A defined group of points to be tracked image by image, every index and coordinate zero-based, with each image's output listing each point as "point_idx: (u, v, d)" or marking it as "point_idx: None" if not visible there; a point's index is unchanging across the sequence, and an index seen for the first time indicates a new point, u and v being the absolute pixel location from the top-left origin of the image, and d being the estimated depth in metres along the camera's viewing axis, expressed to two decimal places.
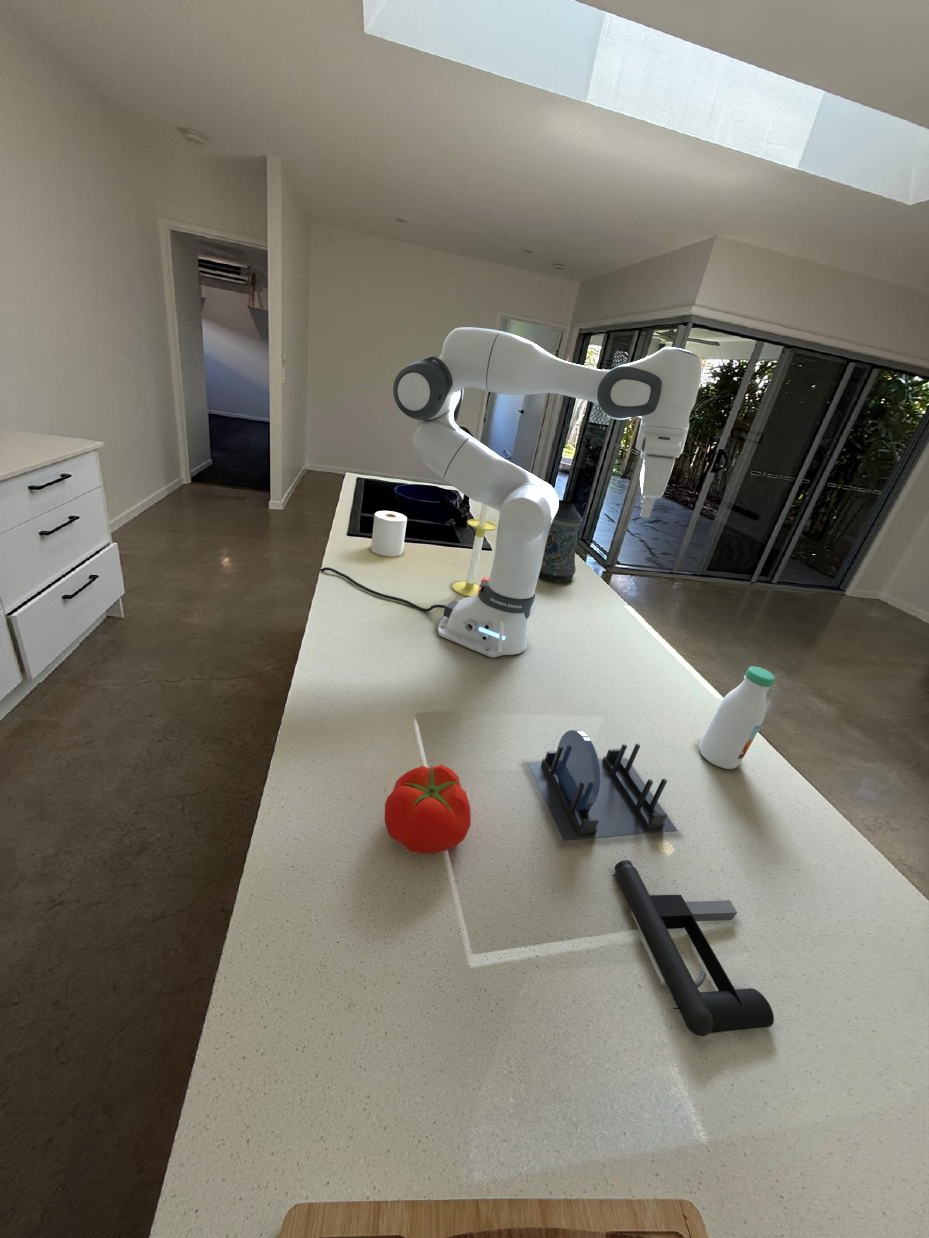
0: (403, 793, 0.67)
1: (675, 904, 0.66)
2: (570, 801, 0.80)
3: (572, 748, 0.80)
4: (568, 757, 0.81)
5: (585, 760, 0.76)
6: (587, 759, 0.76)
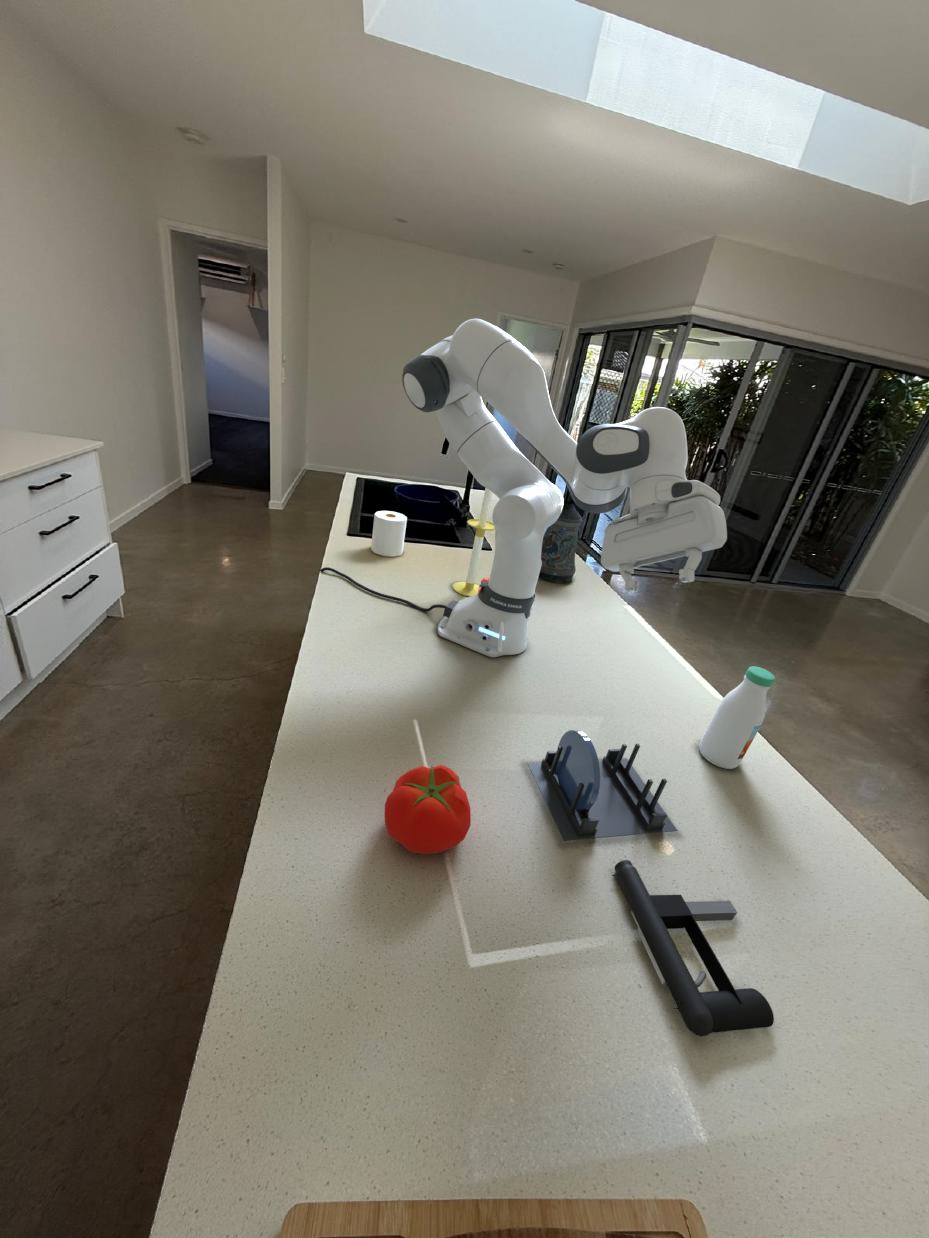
0: (403, 793, 0.67)
1: (675, 904, 0.66)
2: (570, 801, 0.80)
3: (572, 748, 0.80)
4: (568, 757, 0.81)
5: (585, 760, 0.76)
6: (587, 759, 0.76)
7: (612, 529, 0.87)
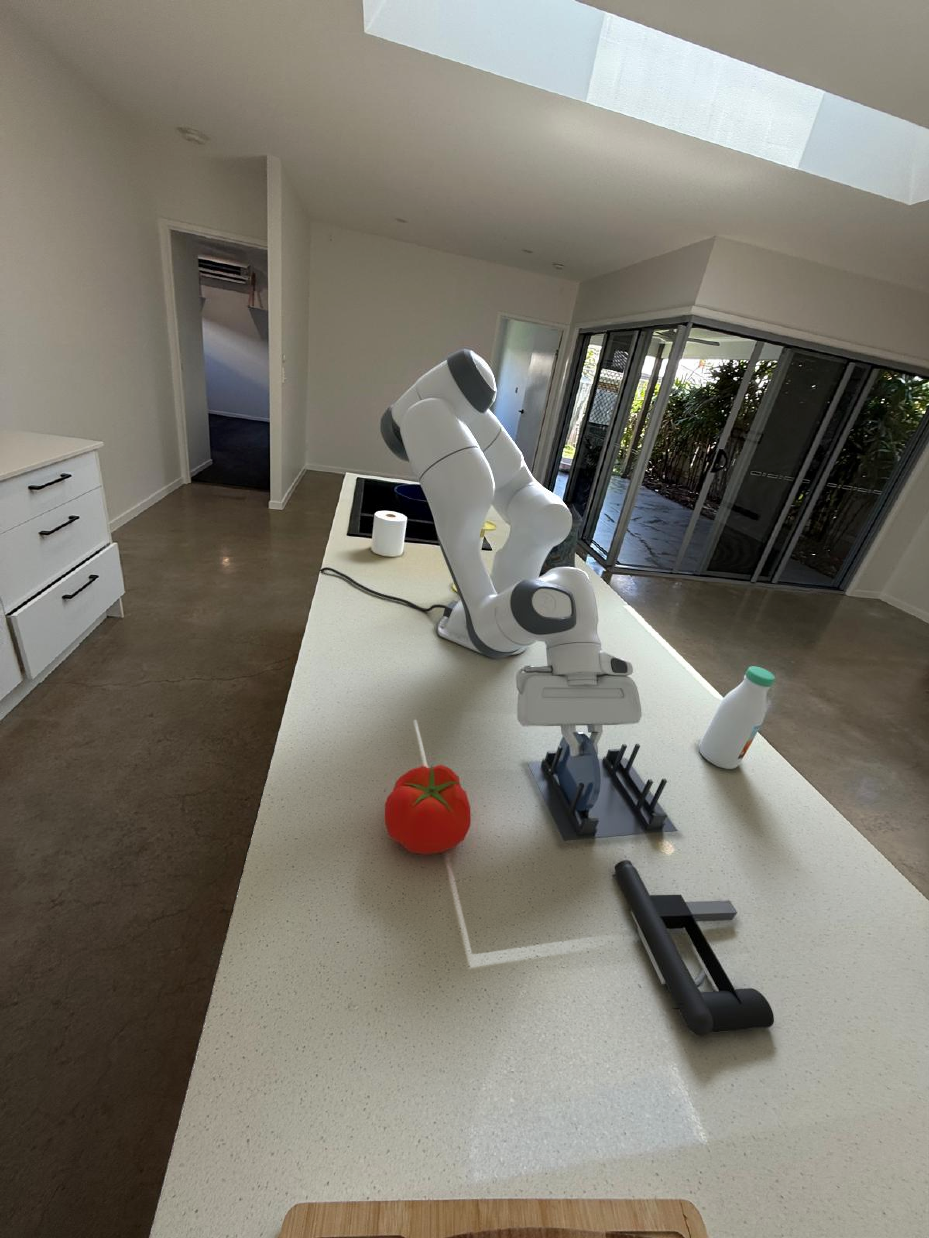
0: (403, 793, 0.67)
1: (675, 904, 0.66)
2: (570, 801, 0.80)
3: None
4: (569, 757, 0.81)
5: (586, 762, 0.76)
6: (588, 761, 0.75)
7: (538, 681, 0.77)
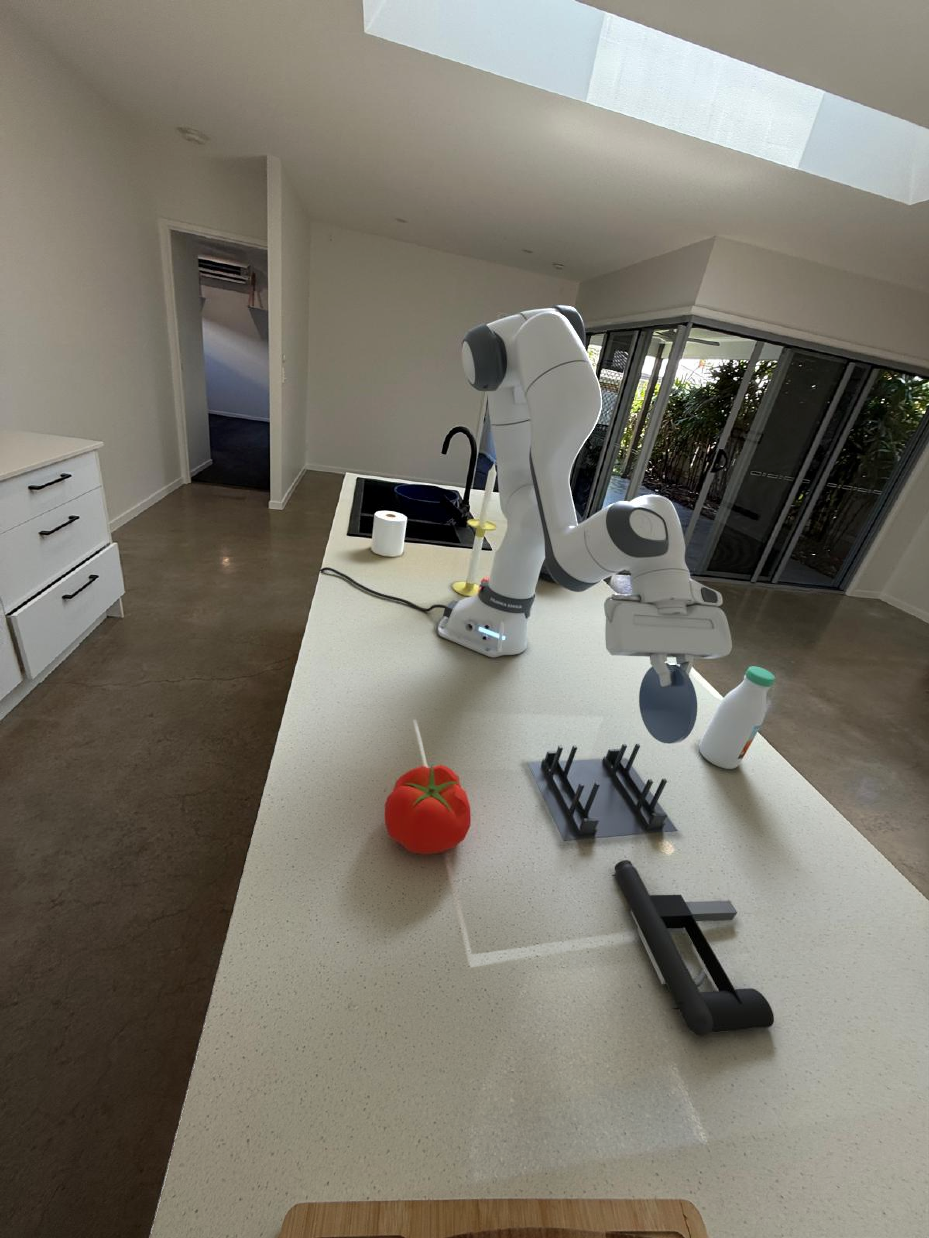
0: (403, 793, 0.67)
1: (675, 904, 0.66)
2: (658, 736, 0.77)
3: None
4: (656, 690, 0.78)
5: (679, 691, 0.73)
6: (682, 689, 0.73)
7: (629, 607, 0.74)
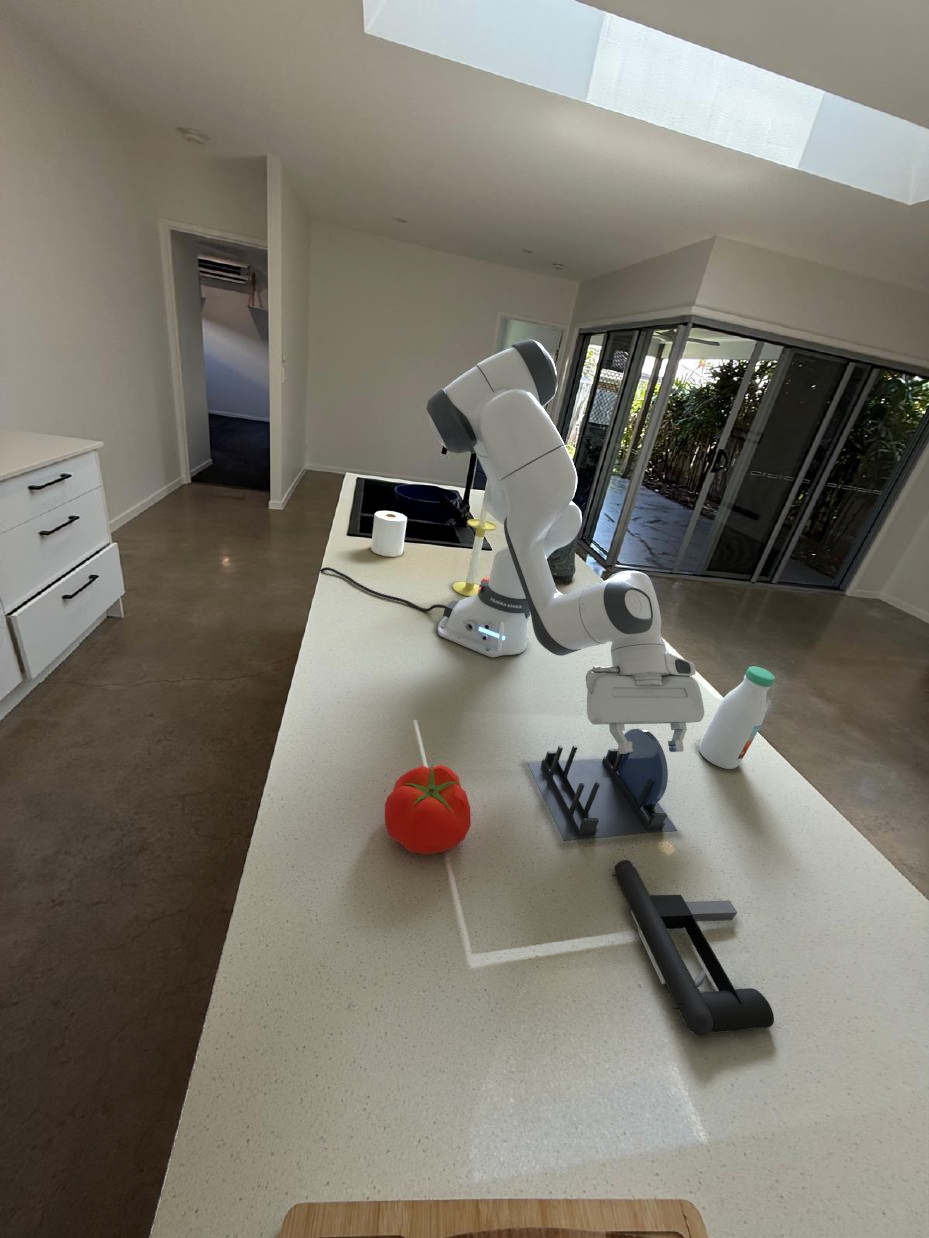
0: (403, 793, 0.67)
1: (675, 904, 0.66)
2: (634, 797, 0.83)
3: (636, 746, 0.84)
4: (631, 754, 0.85)
5: (651, 757, 0.80)
6: (654, 756, 0.79)
7: (608, 681, 0.80)
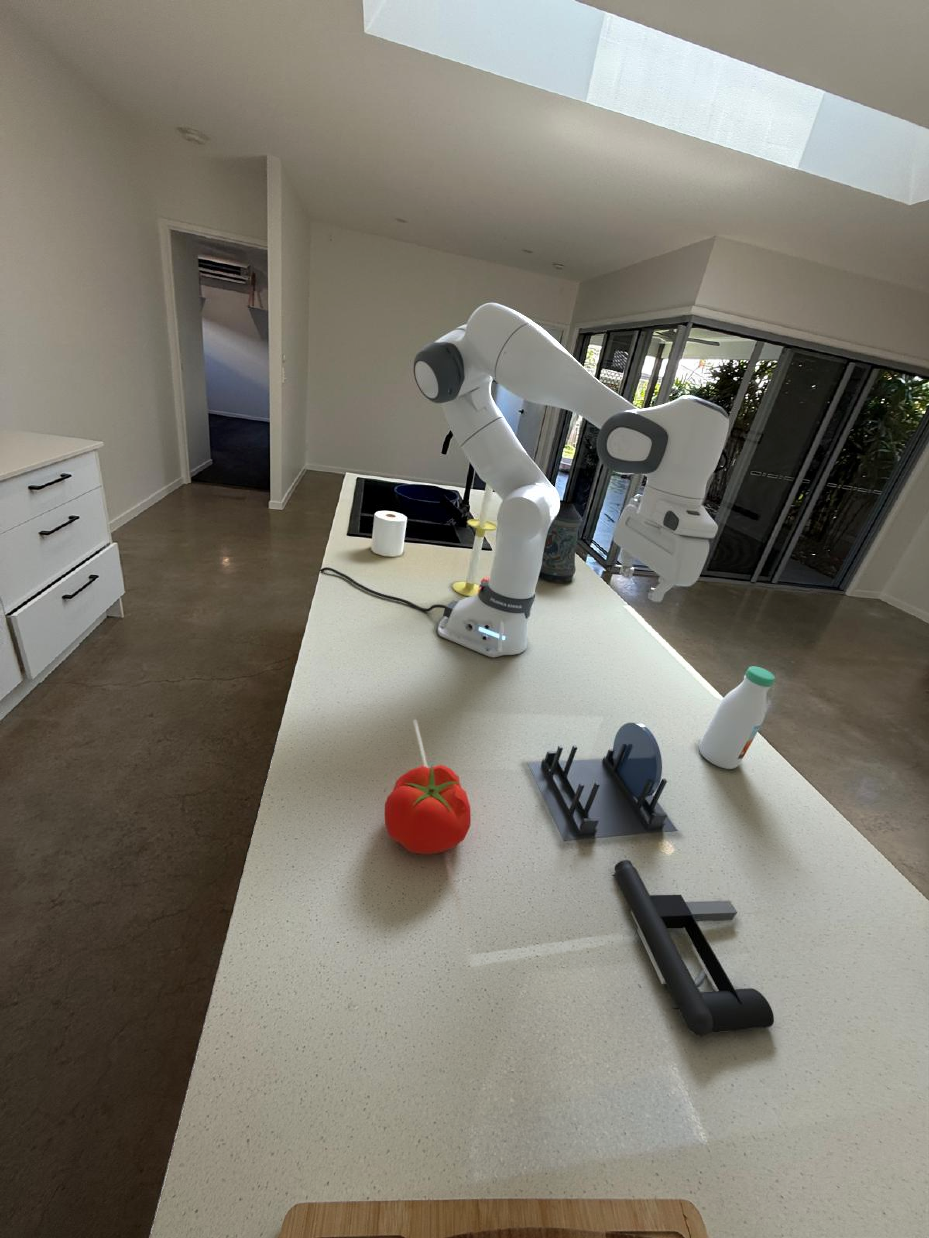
0: (403, 793, 0.67)
1: (675, 904, 0.66)
2: (635, 792, 0.83)
3: (628, 740, 0.86)
4: (625, 750, 0.86)
5: (643, 744, 0.82)
6: (645, 742, 0.81)
7: (628, 510, 0.87)
